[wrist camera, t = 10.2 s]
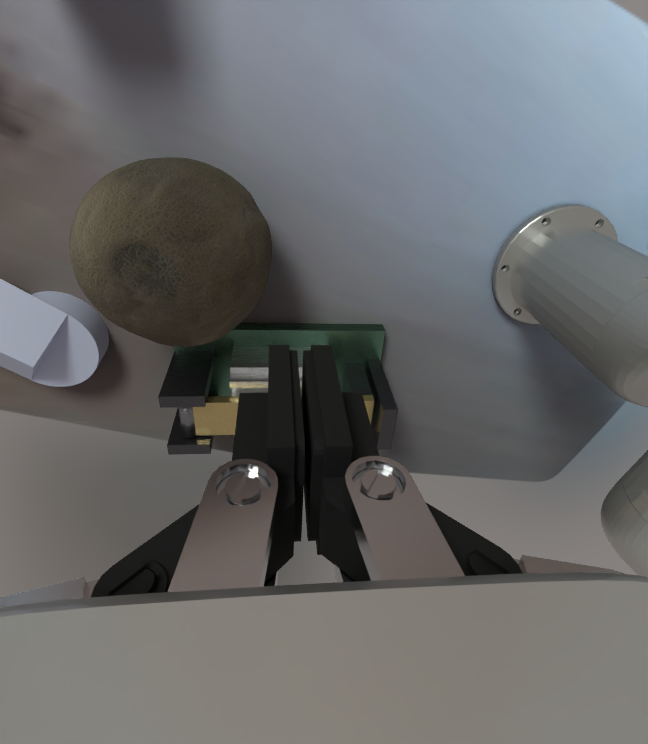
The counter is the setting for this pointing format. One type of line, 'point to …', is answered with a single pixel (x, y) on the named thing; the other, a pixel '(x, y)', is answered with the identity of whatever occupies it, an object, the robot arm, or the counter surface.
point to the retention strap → (224, 416)
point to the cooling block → (250, 371)
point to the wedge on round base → (50, 336)
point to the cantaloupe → (171, 250)
